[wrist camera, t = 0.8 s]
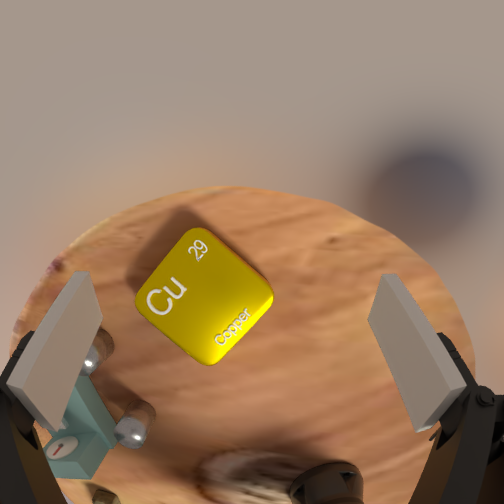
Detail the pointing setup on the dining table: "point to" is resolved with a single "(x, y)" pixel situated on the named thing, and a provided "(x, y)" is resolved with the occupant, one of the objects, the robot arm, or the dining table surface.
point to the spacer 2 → (135, 424)
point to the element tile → (204, 296)
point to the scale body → (81, 434)
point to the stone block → (105, 498)
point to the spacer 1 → (97, 352)
